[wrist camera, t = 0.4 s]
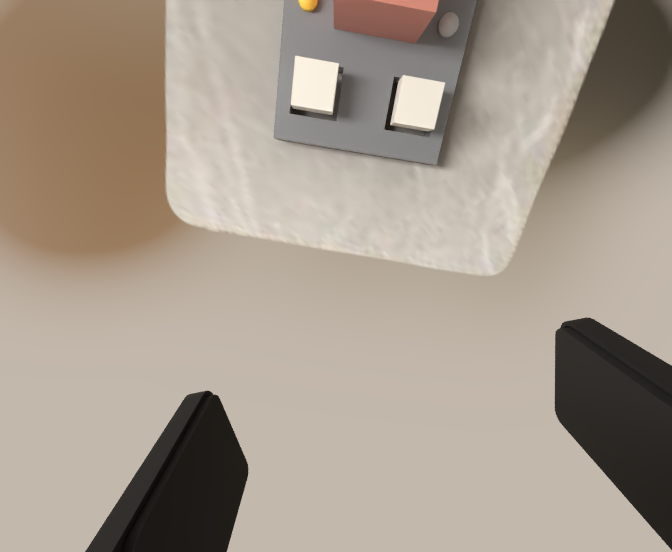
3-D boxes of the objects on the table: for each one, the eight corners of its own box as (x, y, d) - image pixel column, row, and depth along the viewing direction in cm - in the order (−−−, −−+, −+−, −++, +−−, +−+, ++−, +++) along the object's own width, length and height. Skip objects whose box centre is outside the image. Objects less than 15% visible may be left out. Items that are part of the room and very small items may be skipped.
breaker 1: (297, 62, 27) (295, 55, 25) (338, 70, 28) (338, 63, 26) (293, 108, 29) (290, 104, 27) (332, 115, 29) (332, 111, 27)
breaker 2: (398, 80, 28) (403, 74, 26) (437, 88, 28) (445, 82, 26) (390, 125, 29) (393, 122, 27) (427, 131, 29) (434, 129, 27)
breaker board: (295, -81, 26) (291, -106, 24) (480, -44, 27) (495, -64, 24) (277, 139, 32) (272, 137, 29) (430, 164, 33) (438, 164, 30)
